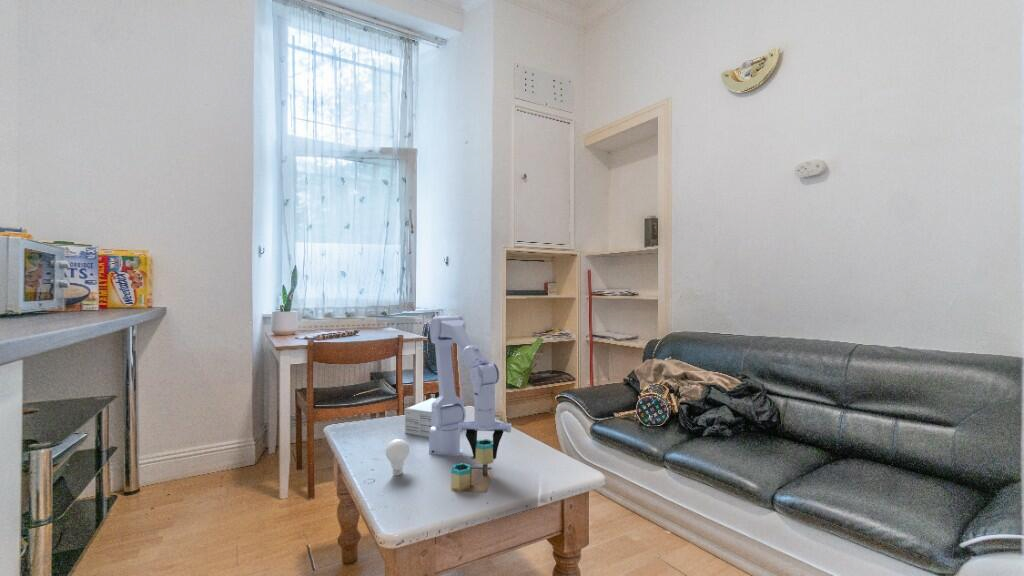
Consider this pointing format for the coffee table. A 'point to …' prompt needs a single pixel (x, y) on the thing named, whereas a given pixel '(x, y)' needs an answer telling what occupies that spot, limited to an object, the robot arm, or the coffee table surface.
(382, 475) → the coffee table surface
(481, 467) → the tray
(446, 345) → the robot arm
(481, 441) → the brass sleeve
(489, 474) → the pin board
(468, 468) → the seated sleeve
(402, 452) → the lightbulb
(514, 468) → the coffee table surface
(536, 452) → the coffee table surface
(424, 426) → the supplement box
